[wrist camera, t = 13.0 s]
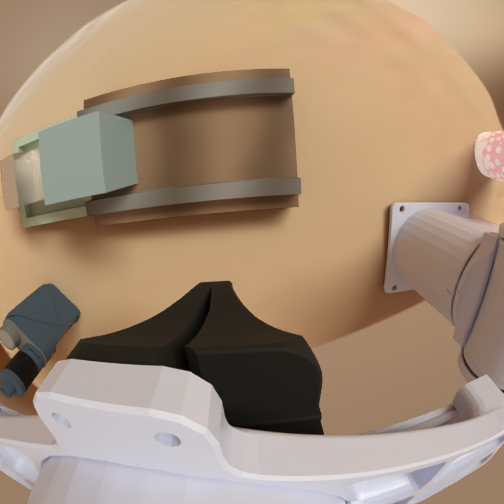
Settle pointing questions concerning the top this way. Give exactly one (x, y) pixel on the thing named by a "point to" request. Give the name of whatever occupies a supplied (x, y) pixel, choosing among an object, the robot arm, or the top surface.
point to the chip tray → (38, 210)
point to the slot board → (204, 146)
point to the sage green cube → (87, 157)
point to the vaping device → (34, 336)
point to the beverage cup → (490, 154)
